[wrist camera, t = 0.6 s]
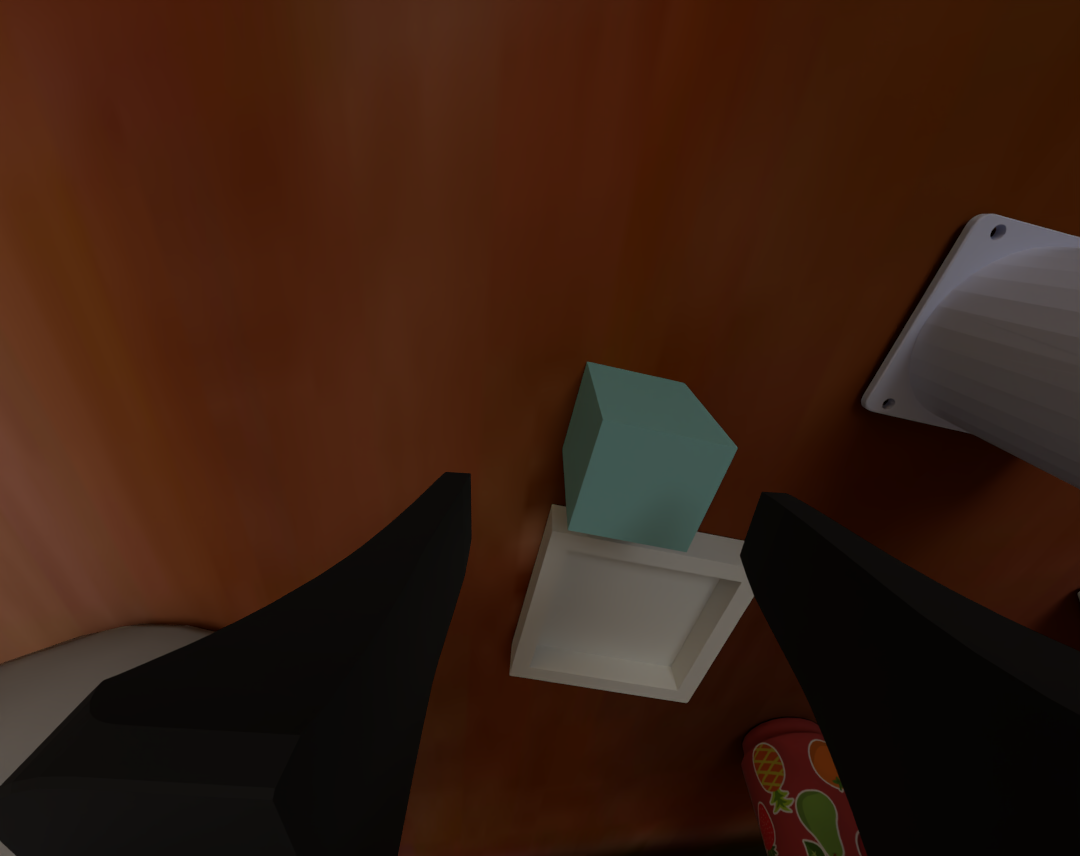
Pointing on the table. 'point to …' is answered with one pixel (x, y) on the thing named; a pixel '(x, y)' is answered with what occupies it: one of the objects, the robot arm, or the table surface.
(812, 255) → the table surface
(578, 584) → the tray
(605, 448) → the block
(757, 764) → the smoothie
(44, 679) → the chamber pot
